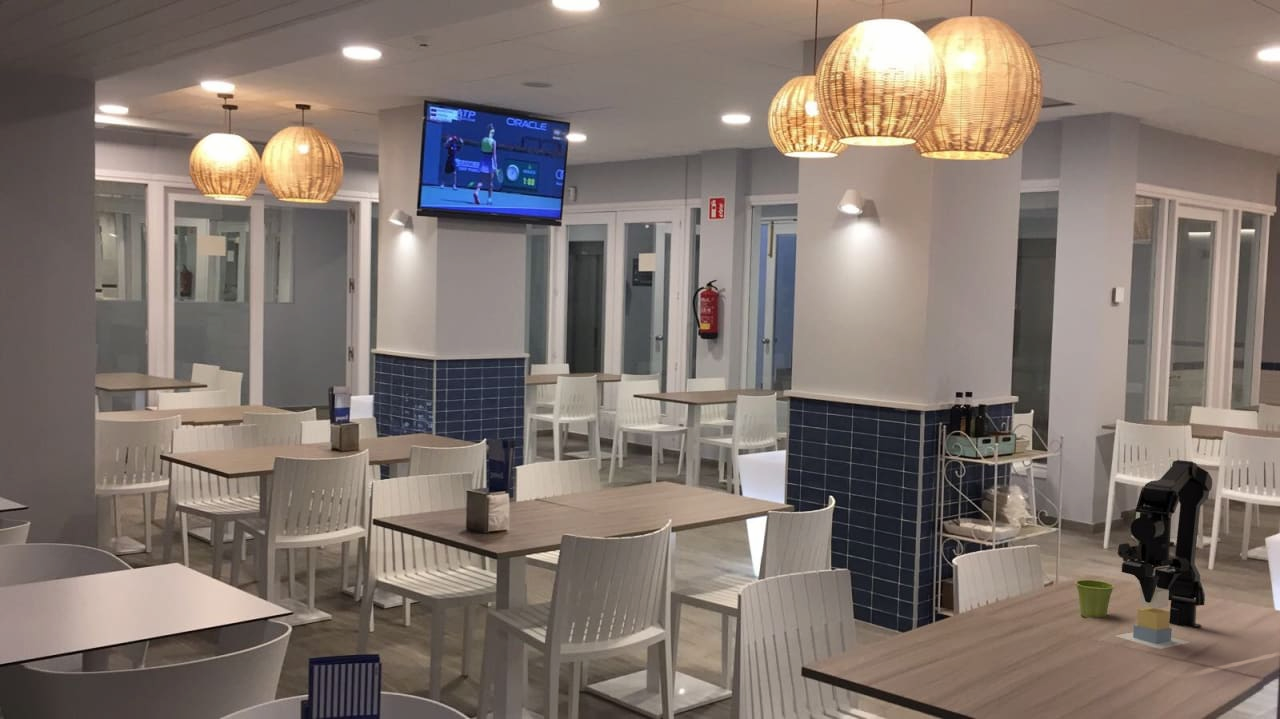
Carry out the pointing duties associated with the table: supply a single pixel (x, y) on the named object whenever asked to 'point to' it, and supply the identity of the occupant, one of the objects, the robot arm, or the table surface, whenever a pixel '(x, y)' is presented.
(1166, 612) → the brick ochre
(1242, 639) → the table surface
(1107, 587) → the plant pot
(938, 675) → the table surface
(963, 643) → the table surface
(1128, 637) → the build plate
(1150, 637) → the base brick
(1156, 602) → the brick cream
